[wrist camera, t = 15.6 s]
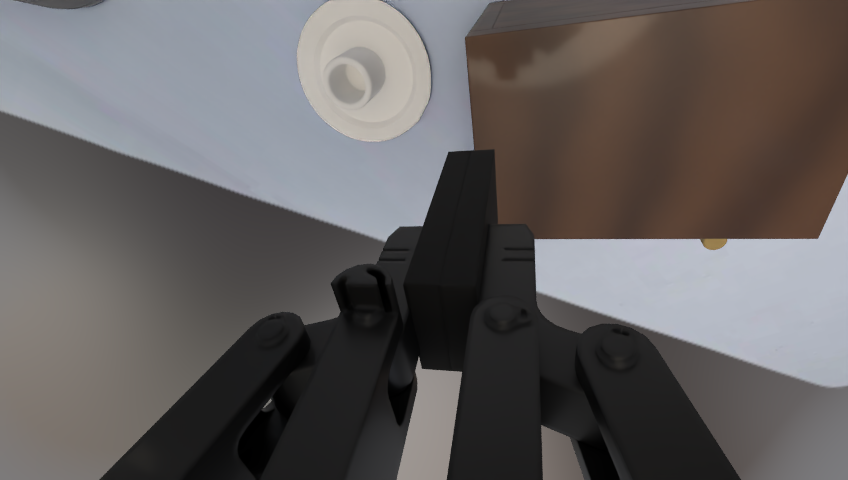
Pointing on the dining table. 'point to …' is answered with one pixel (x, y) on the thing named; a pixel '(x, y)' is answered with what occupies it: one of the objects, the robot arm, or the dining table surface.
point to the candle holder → (364, 69)
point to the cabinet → (663, 115)
